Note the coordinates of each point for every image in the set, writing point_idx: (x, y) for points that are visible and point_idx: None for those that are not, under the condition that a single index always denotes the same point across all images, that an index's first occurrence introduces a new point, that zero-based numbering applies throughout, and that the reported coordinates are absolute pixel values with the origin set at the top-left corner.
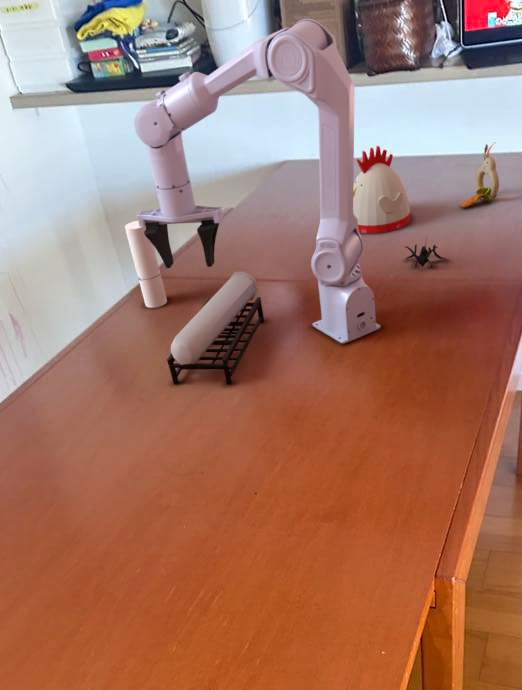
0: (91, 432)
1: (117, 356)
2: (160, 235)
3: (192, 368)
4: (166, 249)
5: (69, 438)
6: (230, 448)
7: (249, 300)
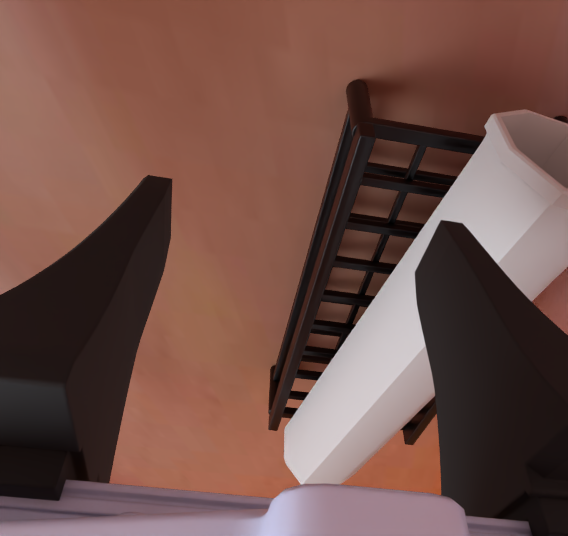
0: (151, 448)
1: (53, 250)
2: (110, 436)
3: (315, 361)
4: (140, 297)
5: (119, 453)
6: (394, 486)
7: (554, 157)
